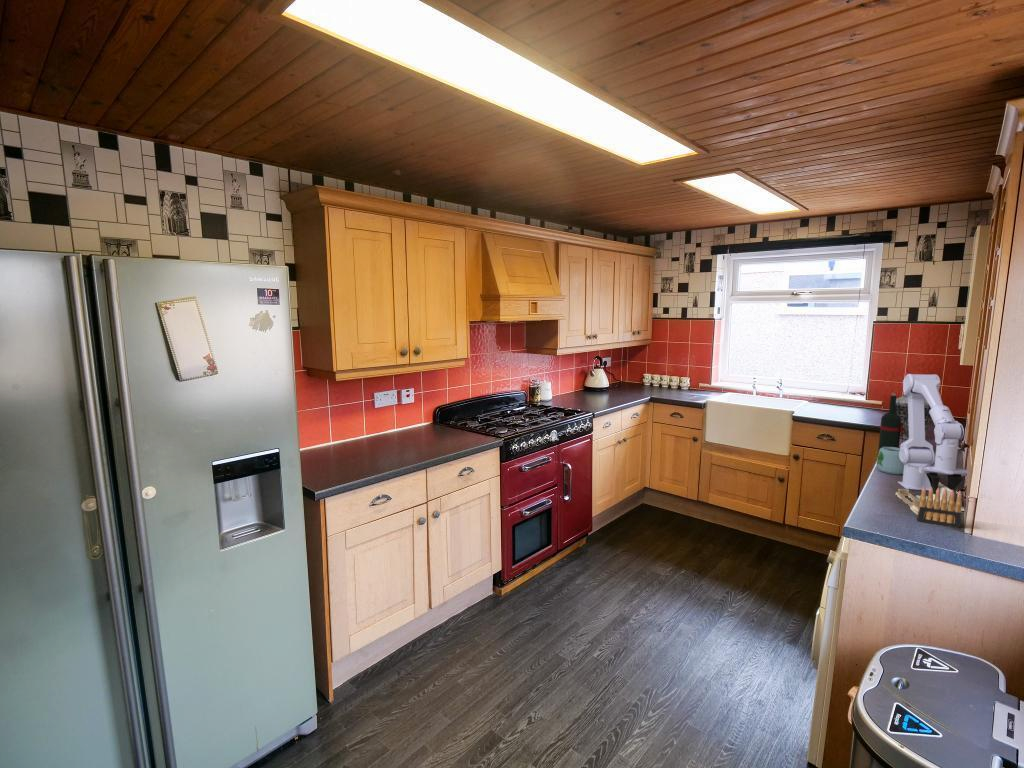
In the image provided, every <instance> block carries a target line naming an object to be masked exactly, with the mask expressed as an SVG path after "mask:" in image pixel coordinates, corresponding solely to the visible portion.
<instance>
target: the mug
mask: <svg viewBox="0 0 1024 768" xmlns="http://www.w3.org/2000/svg"><path fill="white" fill-rule="evenodd" d="M899 451H900V447H899V448H896V447H882V448H880V450H879V454H878V453H877V458H876V469H878V470H879V471H880V472H882V473H884V474H888V475H889V474H890V475H903V471H904V463H902V461H901V460H900V458H899Z"/></svg>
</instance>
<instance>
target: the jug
mask: <svg viewBox="0 0 1024 768" xmlns="http://www.w3.org/2000/svg"><path fill="white" fill-rule="evenodd" d="M938 391H939V392H940V389H939V390H938ZM930 410H931V407H930V405H929V404H928V402H927V400H926V399H924V418H925V434H926V433H927V431H928V429H929V428H930V427H929V426H930V424H931V423H932V422H933V420H932V418H931V415H930V413H929V411H930ZM895 413H896V414H897V415H899V416H900V418H901V425H903V427H904V431H903V433H902V434H903V440H904V439H905V440H908V439H909V423H908V397H907V396H905V395H904V394H902V396H900V397H898V398H897V397H896V406H895ZM902 434H901V433H900V439H902Z"/></svg>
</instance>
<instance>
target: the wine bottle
mask: <svg viewBox="0 0 1024 768" xmlns="http://www.w3.org/2000/svg"><path fill="white" fill-rule="evenodd" d="M889 399H890V400H889V408H888V412H886V413H884V414H883V415H882V416H881V418H880V429H879V437H878V438H879V439H878V449H877V455H878V454H879V450H880V448H882V447H896V448H900V440H901V444H902V443H903V442H904V438H903V434H902V433H903V431H904V427H903V425H901V418H900V416H899V415H897V414H896V413H895V406H896V399H897V393H896V392H891V394H890V398H889ZM900 433H901V434H902V438H901V437H900Z"/></svg>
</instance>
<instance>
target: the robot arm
mask: <svg viewBox="0 0 1024 768" xmlns="http://www.w3.org/2000/svg"><path fill="white" fill-rule="evenodd" d="M940 387H941V379H940V377H939V375H938V374H937V373H936V374H935V373H934V374H923V373H922V374H920V373H919V374H918V373H917V374H916V373H915V374H913V373H906V375H905V376H904V379H903V380H902V389H903V395H905V396H907V397H908V423H909V439H906V440H905V441H903V443H902V442H901V444H900V445H899V448H900V451H899V458H900V460H901V461H902V463H904V471H903V474H902V481H897V483H898V484H899V485H900V486H902V487H903V489H908V490H916V491H917V490H918V491H922V488H923V486H925V488H926V491H927V492H929V489H930V487H932V488H933V494H936V491H937V489H938V484H939V482H940V481H941V476H939V475H944V476H945V475H947V486H946V487H947V488H949V489H951V490H954V492H955V490H956V489H957V488H958V486H959V484H961V482H962V481H963V479H964V477H968V470H969V469H964V468H963V469H962V468H957V461H958V460H957V458H958V451H959V441H960V440H962V439H963V437H964V435H965V430H964V427H963V424H962V423H960V422H959V421H958V420H955V418H954V416H953V414H952V412H951V409H950V407H948V406H946V405H944V403H943V399H942V397H941V394H940ZM938 390H939V391H938ZM924 399H926V400H927V402H928V404H929V405H930V407H931V410H930V411H929V413H930V415H931V418H932V422H933V424H934V429H933V433H934V434H933V435H934V443H936V445H935V446H936V448H935V451H934V446H933V444H932V443H930V442H929V441H927V440H926V433H925V418H924ZM933 464H934V465H933ZM962 476H963V477H962Z"/></svg>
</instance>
